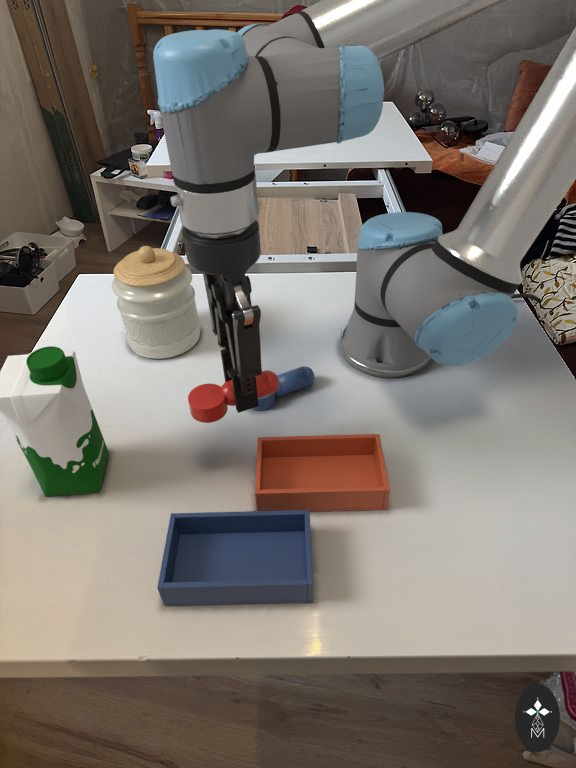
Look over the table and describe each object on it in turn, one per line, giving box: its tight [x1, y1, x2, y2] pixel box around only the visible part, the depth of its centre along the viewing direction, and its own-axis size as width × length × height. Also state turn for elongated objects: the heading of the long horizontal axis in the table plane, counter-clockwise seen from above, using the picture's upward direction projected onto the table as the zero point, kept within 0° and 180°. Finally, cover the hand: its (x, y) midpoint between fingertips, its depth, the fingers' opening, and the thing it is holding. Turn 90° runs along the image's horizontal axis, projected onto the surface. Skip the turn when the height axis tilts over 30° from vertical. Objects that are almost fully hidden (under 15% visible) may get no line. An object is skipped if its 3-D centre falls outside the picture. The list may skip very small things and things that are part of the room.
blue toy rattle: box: [251, 366, 315, 412], centre depth 82 cm, size 12×5×3 cm, turn 118°
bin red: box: [254, 433, 391, 513], centre depth 68 cm, size 16×9×4 cm, turn 91°
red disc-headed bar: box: [187, 369, 279, 424], centre depth 66 cm, size 12×5×3 cm, turn 113°
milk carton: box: [0, 345, 110, 498], centre depth 65 cm, size 9×9×20 cm
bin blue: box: [156, 510, 314, 607], centre depth 60 cm, size 16×9×4 cm, turn 91°
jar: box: [111, 245, 202, 360], centre depth 89 cm, size 13×13×18 cm
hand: (242, 397), depth 67 cm, fingers closed on red disc-headed bar, 3 cm apart
